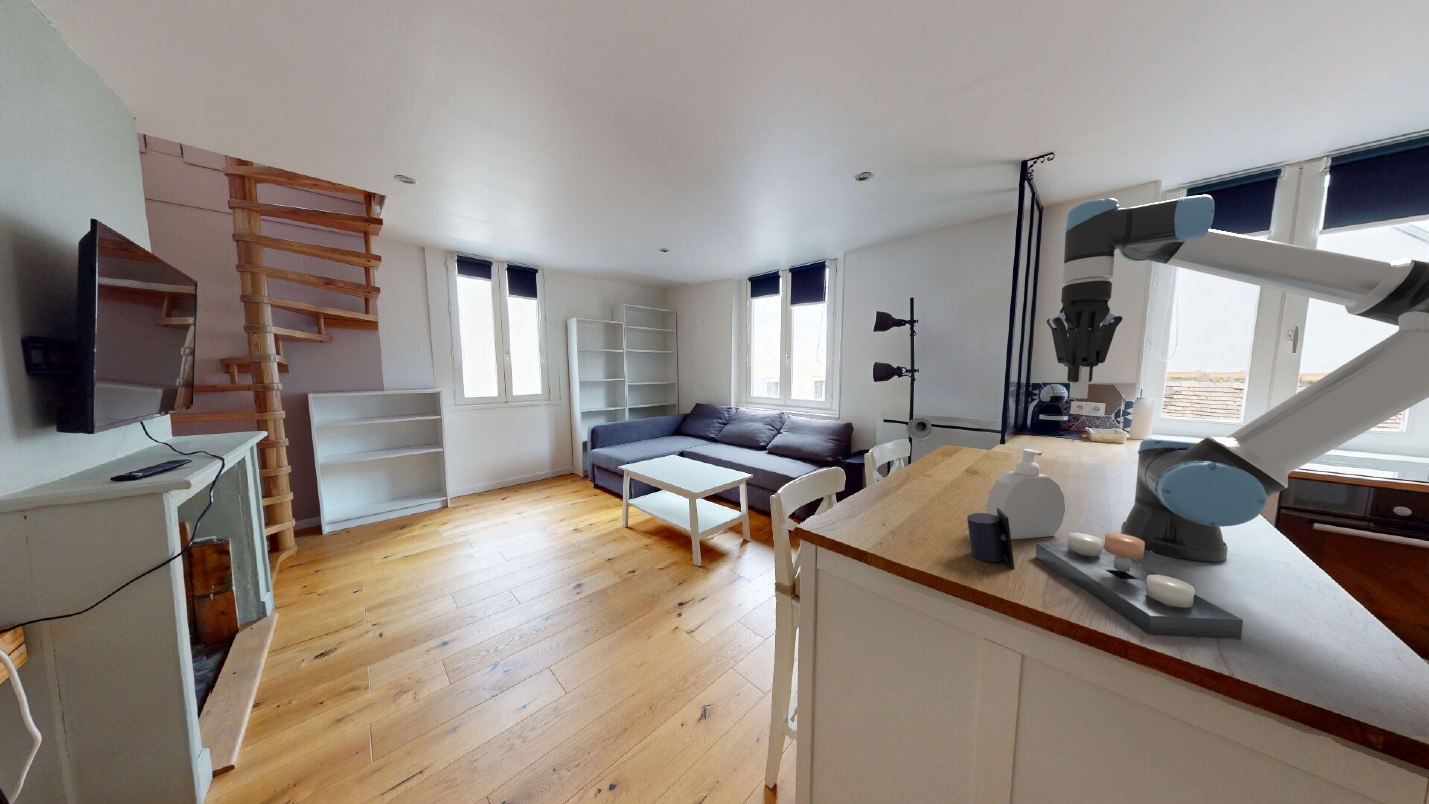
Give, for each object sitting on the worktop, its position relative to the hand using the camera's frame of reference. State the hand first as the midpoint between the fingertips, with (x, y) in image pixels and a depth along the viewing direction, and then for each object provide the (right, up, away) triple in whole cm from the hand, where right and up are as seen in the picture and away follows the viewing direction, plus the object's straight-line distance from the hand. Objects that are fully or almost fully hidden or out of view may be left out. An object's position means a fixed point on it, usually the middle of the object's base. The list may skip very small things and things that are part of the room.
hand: (1078, 397), depth 84 cm
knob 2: (-6, -34, -22) cm, 41 cm away
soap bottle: (-4, -32, +10) cm, 34 cm away
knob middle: (-5, -30, -14) cm, 34 cm away
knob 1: (-5, -33, -6) cm, 34 cm away
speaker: (-20, -33, -2) cm, 39 cm away
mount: (-5, -34, -14) cm, 37 cm away
